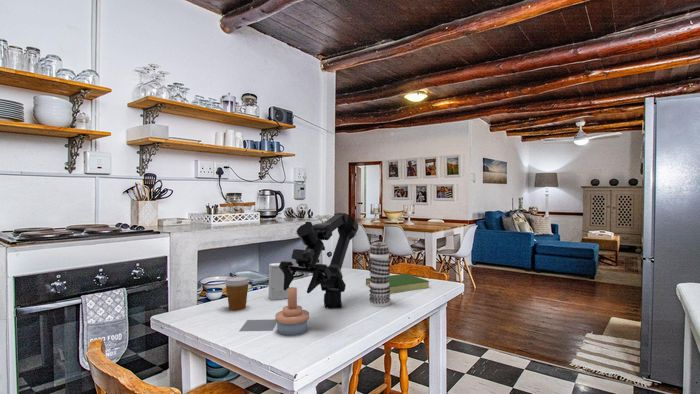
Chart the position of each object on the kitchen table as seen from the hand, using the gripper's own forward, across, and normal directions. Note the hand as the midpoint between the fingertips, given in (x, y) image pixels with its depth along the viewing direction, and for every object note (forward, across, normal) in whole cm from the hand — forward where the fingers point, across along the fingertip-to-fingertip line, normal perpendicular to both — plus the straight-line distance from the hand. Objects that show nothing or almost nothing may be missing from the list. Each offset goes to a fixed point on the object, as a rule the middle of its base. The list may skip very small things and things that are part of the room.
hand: (295, 291), depth 127 cm
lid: (+8, 0, +4) cm, 9 cm away
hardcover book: (-38, +14, +58) cm, 70 cm away
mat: (+11, -13, +7) cm, 18 cm away
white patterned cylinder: (-18, +16, +37) cm, 44 cm away
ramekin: (+10, 0, +7) cm, 13 cm away
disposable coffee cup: (+3, -33, +16) cm, 37 cm away
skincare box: (-11, -27, +30) cm, 42 cm away
